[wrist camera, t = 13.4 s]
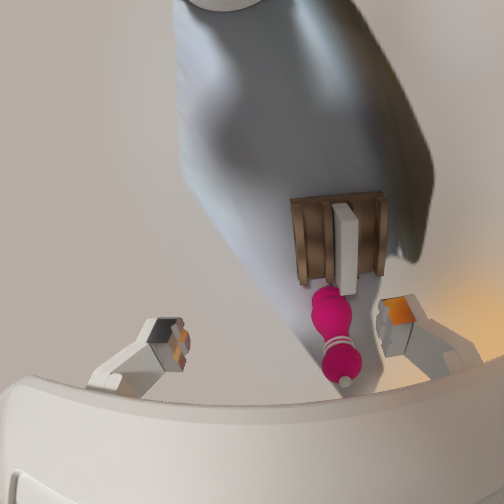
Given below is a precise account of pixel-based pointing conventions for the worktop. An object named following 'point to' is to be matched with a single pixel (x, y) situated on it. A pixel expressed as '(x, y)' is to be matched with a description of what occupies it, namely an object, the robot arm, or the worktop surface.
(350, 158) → the worktop surface
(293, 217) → the walnut rack
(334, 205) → the clay strip
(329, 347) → the pepper mill
